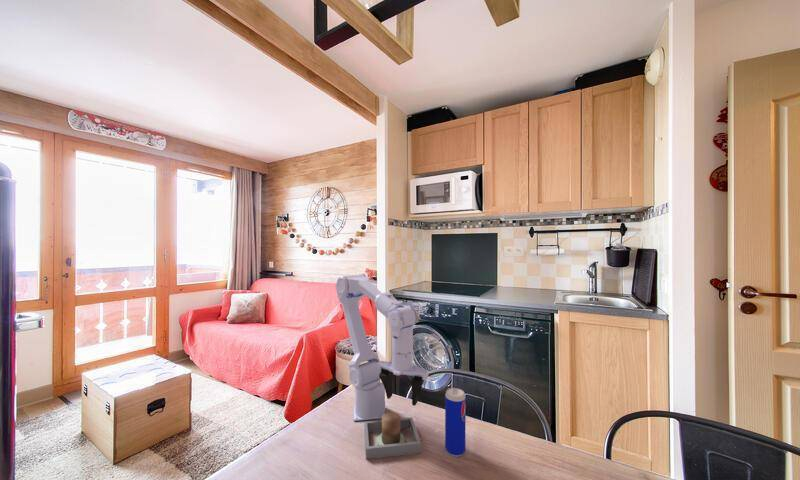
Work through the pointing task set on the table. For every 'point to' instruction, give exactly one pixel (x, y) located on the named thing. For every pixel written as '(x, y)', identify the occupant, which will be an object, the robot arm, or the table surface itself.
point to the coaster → (379, 442)
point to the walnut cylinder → (390, 428)
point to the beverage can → (455, 421)
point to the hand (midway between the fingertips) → (402, 400)
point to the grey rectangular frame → (391, 448)
